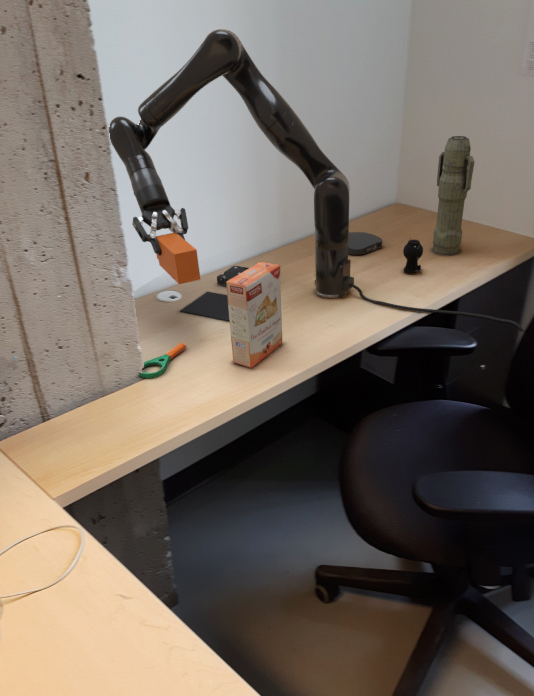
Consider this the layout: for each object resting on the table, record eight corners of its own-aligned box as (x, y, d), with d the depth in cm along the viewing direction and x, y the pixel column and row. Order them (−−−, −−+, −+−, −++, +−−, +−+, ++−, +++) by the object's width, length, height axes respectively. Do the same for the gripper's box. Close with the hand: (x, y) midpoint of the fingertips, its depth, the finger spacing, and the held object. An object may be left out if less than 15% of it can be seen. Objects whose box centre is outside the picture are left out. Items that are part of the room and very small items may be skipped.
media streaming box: (356, 236, 212) (356, 228, 210) (386, 246, 203) (387, 237, 201) (326, 247, 204) (326, 238, 203) (357, 257, 195) (357, 249, 193)
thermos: (455, 258, 191) (469, 142, 172) (423, 250, 198) (433, 138, 178) (468, 250, 196) (484, 137, 177) (437, 243, 203) (449, 133, 184)
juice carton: (156, 262, 154) (151, 234, 150) (176, 258, 156) (172, 229, 152) (179, 284, 141) (174, 254, 137) (200, 279, 143) (196, 249, 139)
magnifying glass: (152, 380, 136) (151, 374, 135) (133, 374, 139) (131, 368, 138) (193, 351, 147) (192, 345, 146) (174, 346, 150) (173, 340, 149)
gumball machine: (425, 274, 181) (428, 243, 175) (407, 277, 180) (409, 245, 174) (416, 267, 186) (418, 235, 181) (398, 269, 185) (400, 238, 180)
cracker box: (253, 369, 139) (246, 286, 127) (232, 363, 141) (223, 281, 130) (284, 344, 148) (281, 264, 137) (264, 338, 151) (259, 259, 139)
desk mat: (266, 303, 168) (266, 302, 168) (241, 324, 158) (241, 322, 158) (207, 292, 176) (207, 291, 176) (180, 311, 166) (180, 310, 166)
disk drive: (217, 285, 181) (259, 292, 175) (215, 277, 179) (258, 283, 173) (234, 273, 188) (275, 279, 182) (233, 265, 187) (275, 270, 181)
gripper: (122, 188, 144) (145, 250, 142) (178, 178, 149) (201, 238, 147) (121, 205, 151) (143, 264, 149) (174, 195, 156) (196, 252, 154)
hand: (172, 251), depth 148 cm, fingers closed on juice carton, 5 cm apart
